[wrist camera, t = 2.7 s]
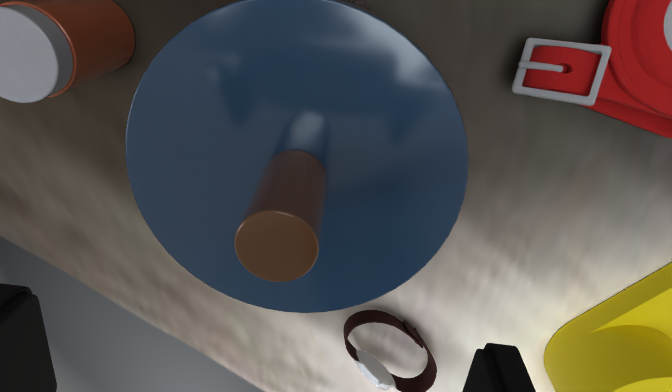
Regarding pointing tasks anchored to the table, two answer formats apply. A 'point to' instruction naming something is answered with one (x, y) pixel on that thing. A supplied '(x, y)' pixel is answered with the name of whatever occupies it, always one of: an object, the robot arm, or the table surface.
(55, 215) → the table surface
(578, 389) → the crank
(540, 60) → the tracker holder
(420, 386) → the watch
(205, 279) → the canister lid
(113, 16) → the pill bottle
